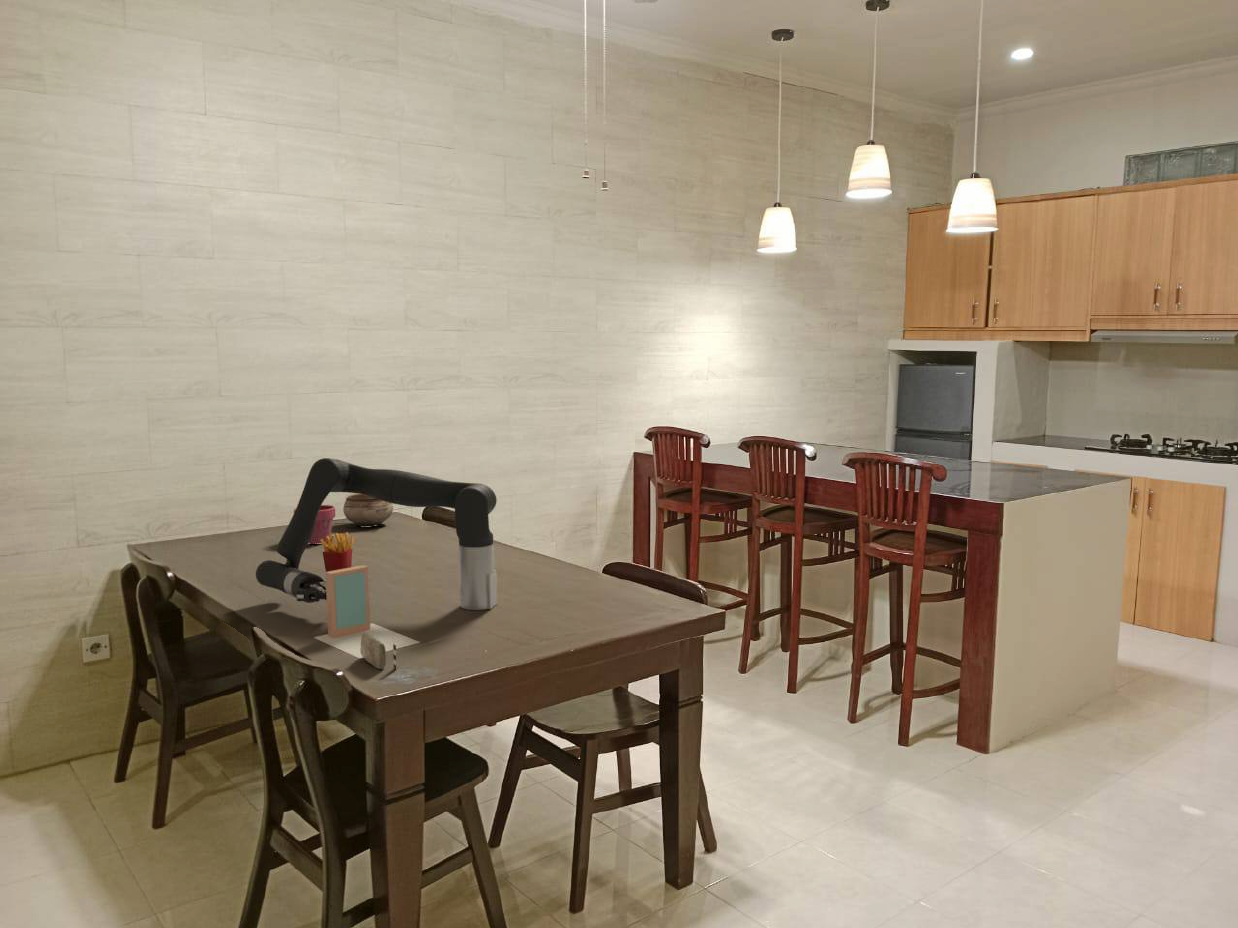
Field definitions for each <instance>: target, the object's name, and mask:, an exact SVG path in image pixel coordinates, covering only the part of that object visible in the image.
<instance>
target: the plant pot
mask: <svg viewBox="0 0 1238 928" xmlns="http://www.w3.org/2000/svg"><path fill="white" fill-rule="evenodd" d="M296 508H297V507H295V508H294V509H293V514H294V513H295V510H296ZM335 517H336V506H334V505H332V504H331V505H330V504H329V505H328V504H322V505H321V507H320V509H319V512H318V515H317V518H316V524H315V528H314V532H313V535H312V537H311V539H310V541H309V543H310V544H315V543H316V544H317V543H321V541H320V539H323V540H324V541H325V542H327V539H326V536H329V538H330V539H331V536H332V535H331V534H332V528H333V520H334V519H335Z"/></svg>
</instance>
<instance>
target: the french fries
mask: <svg viewBox="0 0 1238 928" xmlns="http://www.w3.org/2000/svg"><path fill="white" fill-rule="evenodd" d="M334 538H336V542H335V541H334ZM326 539H327V542H328V543H325V541H324V540H323V539H320V541H321V543H322V544H321V545H322V546H323V548H324V551H322V557H323V563H324V569H325V572H329V571H334V570H340V569H345V568H350V567H352V563H353V562H352V561H353V560H352V559H353V548H352V547H353V545H354V541H355V537H354V536H351V537H350V533H349V532H344V535H343V534H341V533H340V534H339V533H338V532H335V533H334V534H332V535H331V536H330V538H329V536H326Z"/></svg>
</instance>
